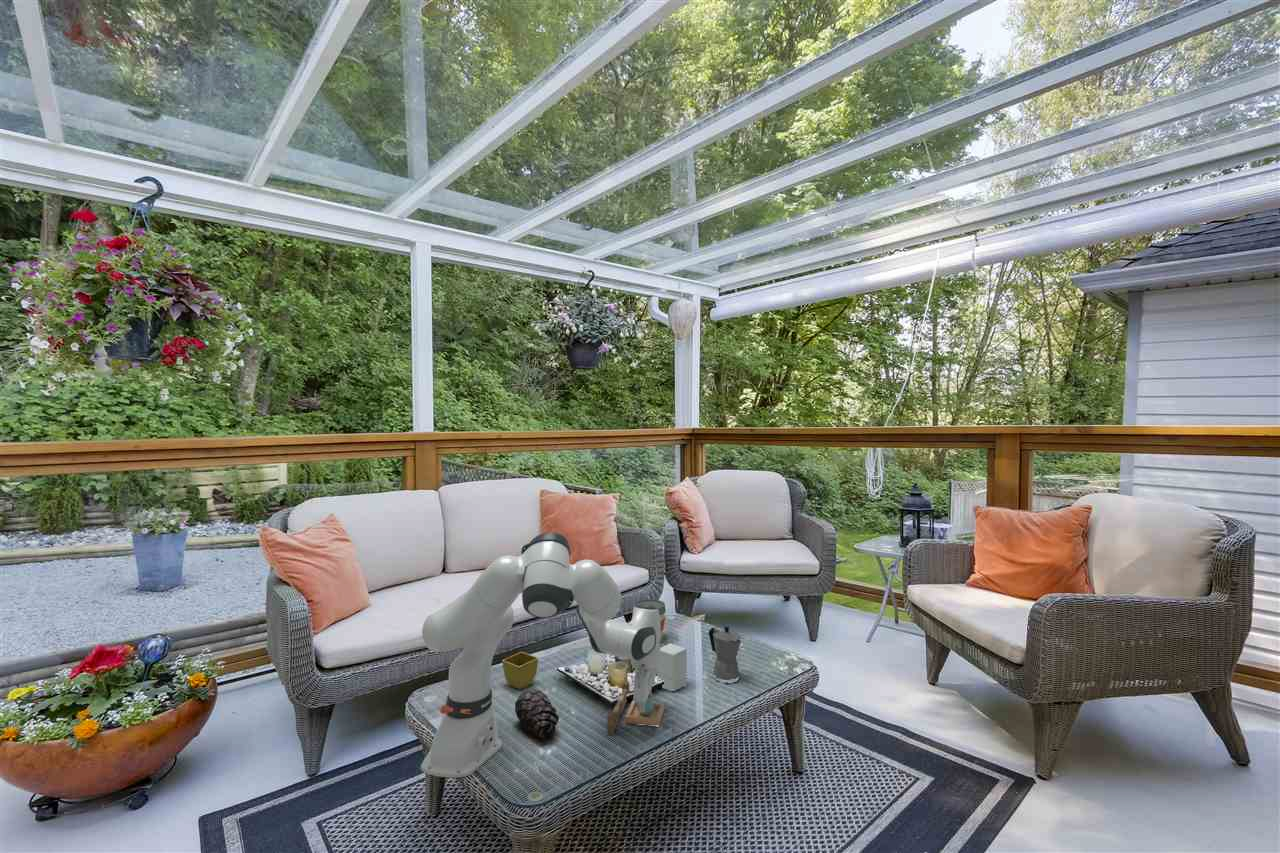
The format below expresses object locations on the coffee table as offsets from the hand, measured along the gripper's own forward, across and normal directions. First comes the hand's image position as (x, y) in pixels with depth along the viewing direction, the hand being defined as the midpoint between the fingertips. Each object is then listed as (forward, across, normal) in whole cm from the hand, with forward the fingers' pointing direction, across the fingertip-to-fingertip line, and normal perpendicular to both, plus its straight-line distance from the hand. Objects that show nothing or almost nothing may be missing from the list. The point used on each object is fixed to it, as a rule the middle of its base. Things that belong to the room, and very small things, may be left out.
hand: (645, 703), depth 178 cm
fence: (+4, -1, +8) cm, 9 cm away
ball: (+3, 0, 0) cm, 3 cm away
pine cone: (+4, -13, +29) cm, 32 cm away
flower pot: (+4, +12, +45) cm, 47 cm away
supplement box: (+4, +22, -5) cm, 23 cm away
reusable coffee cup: (+4, +59, +9) cm, 60 cm away
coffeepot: (+4, +32, -22) cm, 39 cm away
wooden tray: (+4, 0, 0) cm, 4 cm away
